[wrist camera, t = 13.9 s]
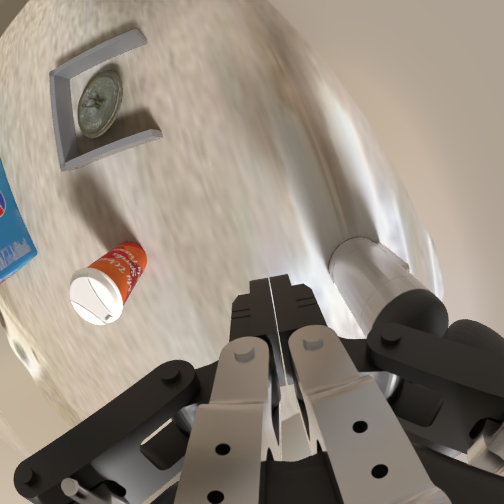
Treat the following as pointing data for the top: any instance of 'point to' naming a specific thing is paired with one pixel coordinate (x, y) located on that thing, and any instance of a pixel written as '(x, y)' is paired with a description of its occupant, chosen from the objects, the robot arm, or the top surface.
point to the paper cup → (107, 283)
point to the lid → (100, 104)
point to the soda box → (12, 233)
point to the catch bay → (63, 104)
